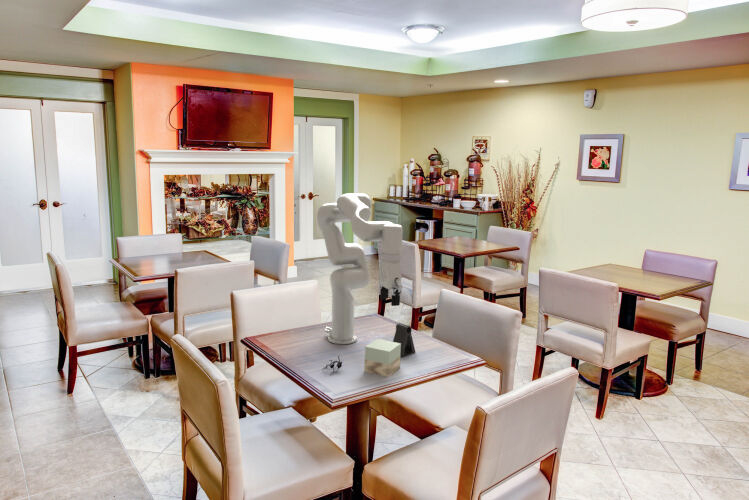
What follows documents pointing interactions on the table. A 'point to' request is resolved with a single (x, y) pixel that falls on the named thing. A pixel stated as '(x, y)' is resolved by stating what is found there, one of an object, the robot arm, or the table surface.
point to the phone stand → (404, 339)
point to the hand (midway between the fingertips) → (389, 302)
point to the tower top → (382, 351)
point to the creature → (333, 365)
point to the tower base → (381, 367)
